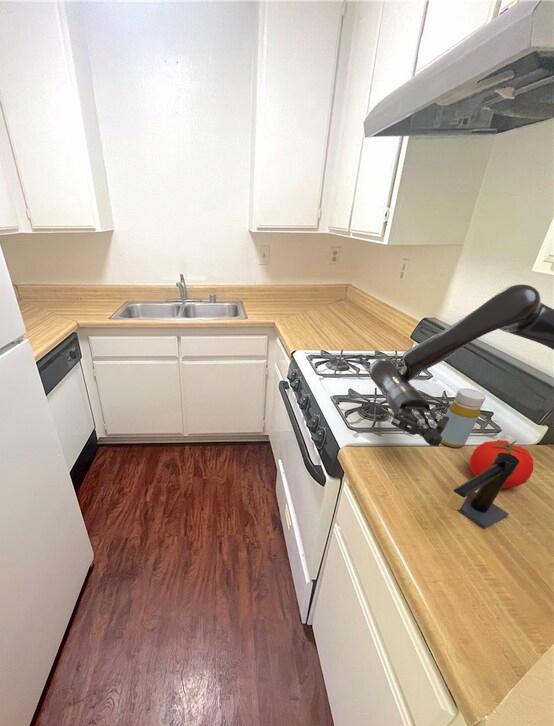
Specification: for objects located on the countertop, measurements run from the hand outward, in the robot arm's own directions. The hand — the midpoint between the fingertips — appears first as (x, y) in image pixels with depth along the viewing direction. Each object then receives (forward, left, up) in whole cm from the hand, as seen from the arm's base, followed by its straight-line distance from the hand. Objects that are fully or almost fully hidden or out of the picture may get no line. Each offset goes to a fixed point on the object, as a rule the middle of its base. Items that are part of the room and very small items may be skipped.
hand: (436, 442), depth 72 cm
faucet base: (-7, +10, -13) cm, 18 cm away
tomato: (-20, +5, -14) cm, 25 cm away
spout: (0, +11, -4) cm, 12 cm away
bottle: (-26, -10, -14) cm, 31 cm away
